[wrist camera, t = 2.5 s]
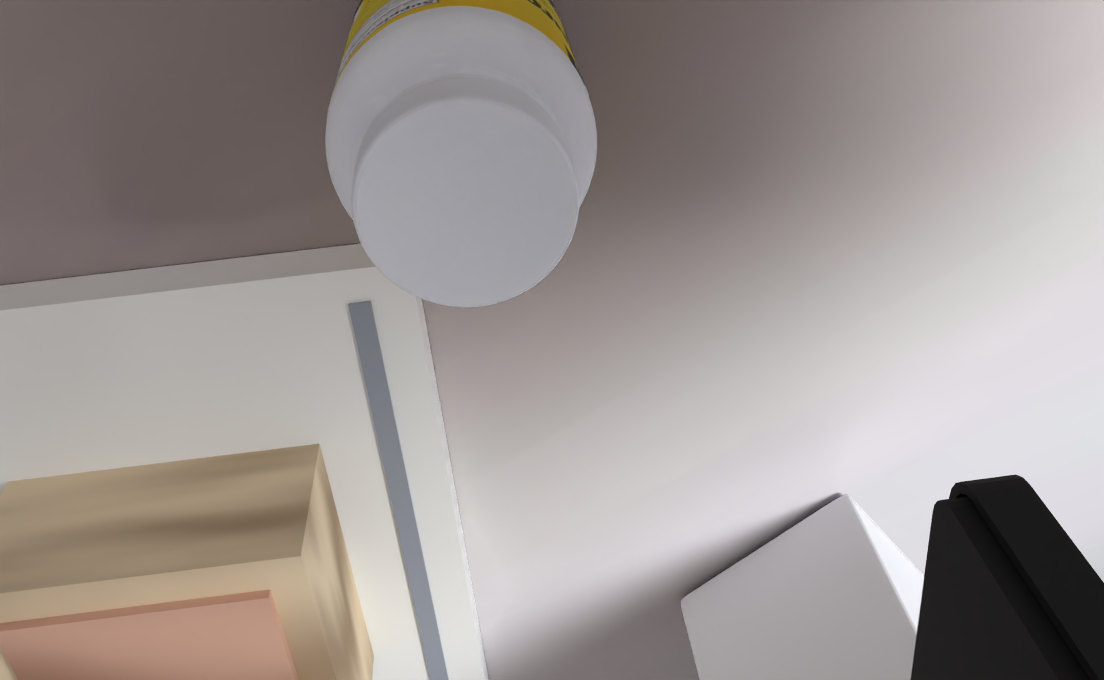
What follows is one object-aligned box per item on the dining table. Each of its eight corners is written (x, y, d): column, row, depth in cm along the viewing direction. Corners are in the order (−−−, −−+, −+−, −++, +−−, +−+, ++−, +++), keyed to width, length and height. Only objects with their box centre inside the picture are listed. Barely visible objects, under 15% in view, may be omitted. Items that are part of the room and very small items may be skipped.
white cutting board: (-175, 305, 29) (-205, 336, 27) (411, 237, 29) (409, 264, 28) (67, 768, 39) (54, 807, 38) (494, 713, 40) (496, 749, 38)
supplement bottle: (606, 73, 27) (676, 243, 19) (438, 189, 29) (436, 395, 20) (481, -111, 25) (500, -9, 16) (303, 25, 26) (237, 184, 18)
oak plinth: (7, 481, 31) (-63, 609, 26) (319, 443, 31) (299, 564, 27) (105, 690, 35) (58, 826, 31) (373, 655, 36) (364, 786, 31)
